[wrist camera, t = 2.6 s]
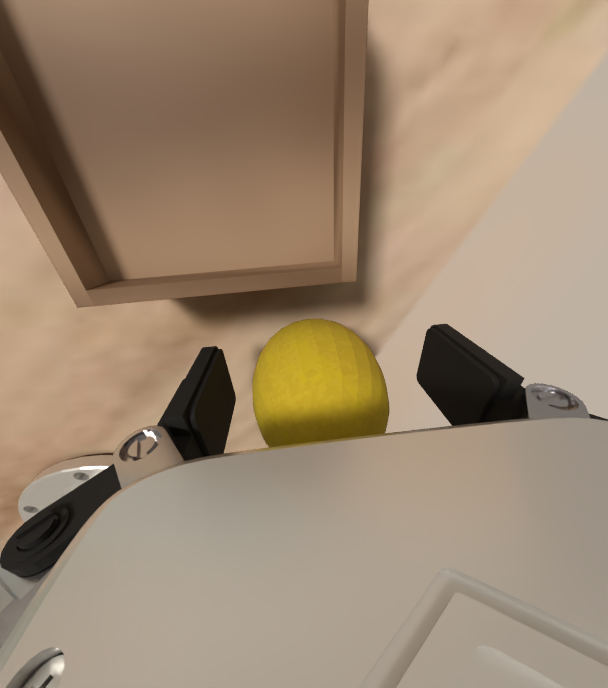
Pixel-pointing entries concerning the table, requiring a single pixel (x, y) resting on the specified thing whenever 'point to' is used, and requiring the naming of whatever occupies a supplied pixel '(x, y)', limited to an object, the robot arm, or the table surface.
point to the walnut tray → (185, 142)
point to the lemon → (318, 386)
